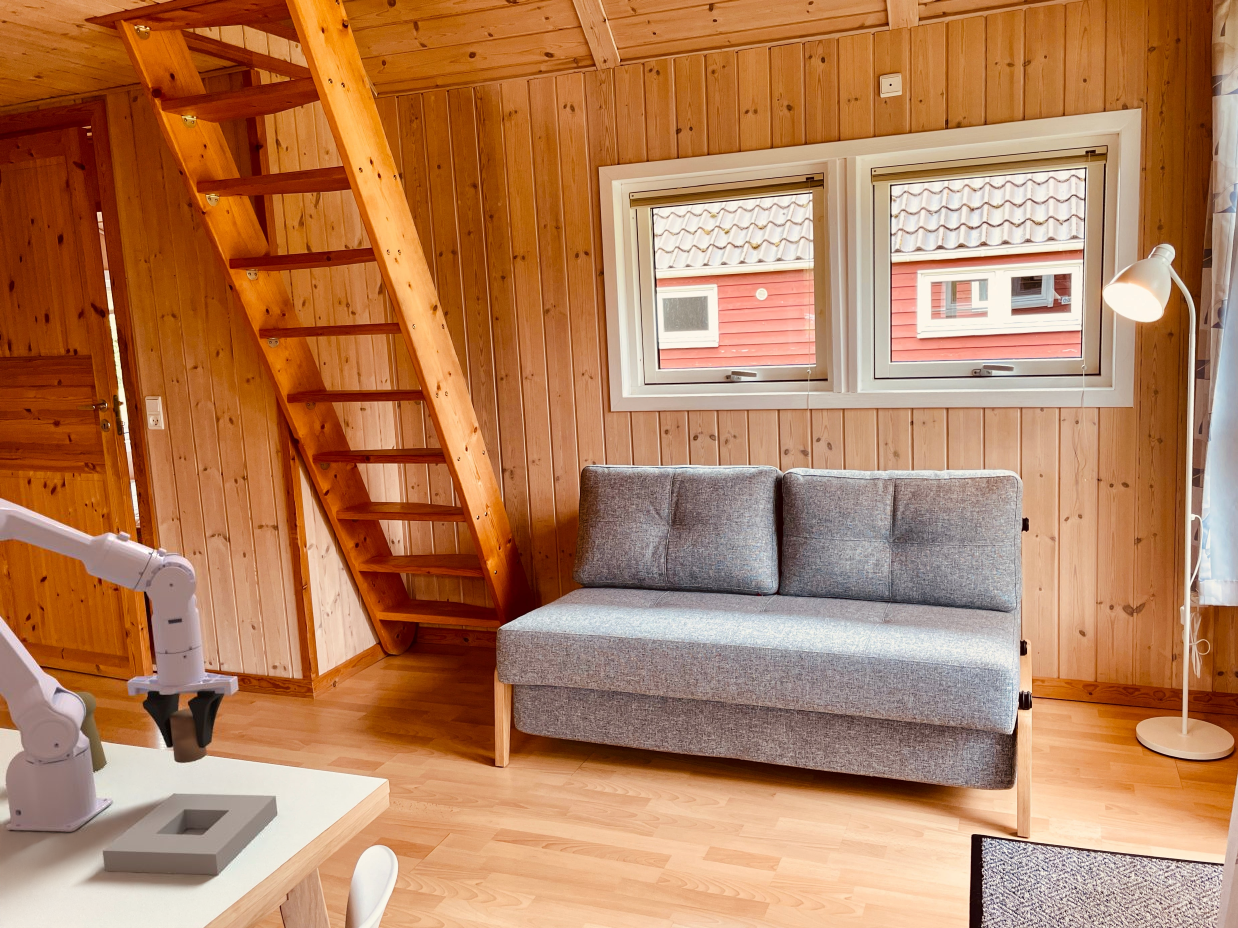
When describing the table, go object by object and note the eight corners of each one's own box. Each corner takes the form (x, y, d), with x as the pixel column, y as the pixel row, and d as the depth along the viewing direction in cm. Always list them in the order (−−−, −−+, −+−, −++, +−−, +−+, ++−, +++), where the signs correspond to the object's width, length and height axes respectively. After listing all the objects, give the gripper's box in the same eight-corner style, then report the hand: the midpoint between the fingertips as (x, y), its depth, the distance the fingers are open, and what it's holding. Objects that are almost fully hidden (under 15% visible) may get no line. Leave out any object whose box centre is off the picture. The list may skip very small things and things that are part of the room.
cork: (86, 778, 139) (77, 703, 137) (49, 776, 140) (39, 702, 138) (116, 759, 144) (107, 687, 143) (80, 758, 146) (71, 686, 144)
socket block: (104, 870, 113) (102, 850, 113) (175, 811, 127) (173, 793, 127) (217, 874, 111) (215, 854, 111) (277, 814, 125) (275, 795, 125)
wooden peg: (168, 762, 131) (163, 719, 130) (185, 749, 135) (180, 707, 134) (196, 763, 130) (191, 719, 129) (212, 750, 134) (208, 708, 133)
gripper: (108, 657, 127) (120, 757, 129) (214, 656, 126) (225, 757, 127) (141, 640, 134) (151, 735, 136) (241, 639, 133) (251, 735, 134)
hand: (189, 744), depth 132 cm, fingers closed on wooden peg, 4 cm apart
